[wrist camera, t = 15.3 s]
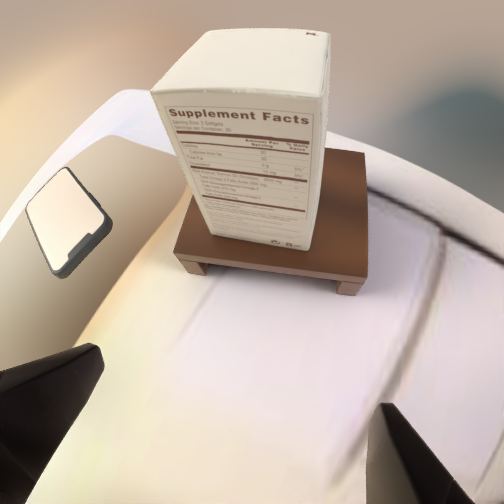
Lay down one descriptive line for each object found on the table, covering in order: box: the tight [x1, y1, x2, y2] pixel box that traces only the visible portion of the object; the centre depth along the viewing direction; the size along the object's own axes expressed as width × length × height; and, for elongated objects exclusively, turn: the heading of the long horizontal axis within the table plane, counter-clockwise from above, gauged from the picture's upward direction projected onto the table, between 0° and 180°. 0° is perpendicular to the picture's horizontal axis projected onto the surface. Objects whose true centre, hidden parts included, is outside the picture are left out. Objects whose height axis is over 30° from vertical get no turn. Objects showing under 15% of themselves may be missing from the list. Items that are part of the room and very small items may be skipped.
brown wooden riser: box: [173, 148, 368, 296], centre depth 24 cm, size 12×14×4 cm
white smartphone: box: [25, 167, 113, 279], centre depth 29 cm, size 9×2×16 cm
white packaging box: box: [150, 28, 331, 251], centre depth 17 cm, size 7×7×13 cm
